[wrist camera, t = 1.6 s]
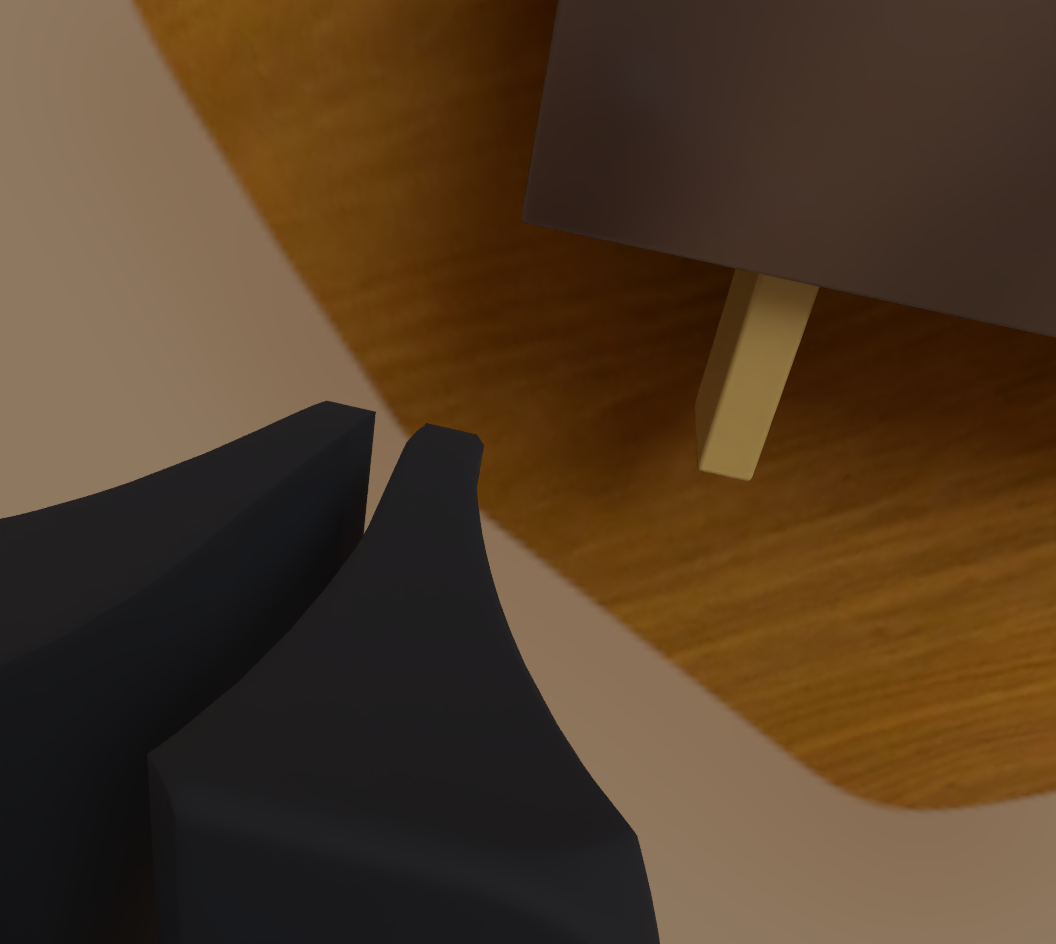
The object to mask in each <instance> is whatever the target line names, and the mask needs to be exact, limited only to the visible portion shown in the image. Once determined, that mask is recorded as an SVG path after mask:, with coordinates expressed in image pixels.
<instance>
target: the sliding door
mask: <svg viewBox="0 0 1056 944" xmlns="http://www.w3.org/2000/svg"><path fill="white" fill-rule="evenodd" d="M818 290H819V287H818V286H813V285H809V284H804V283H800V282H795V281H790V280H786V279H781V278H776V277H772V276H767V275H763V274H758V273H753V272H749V271H744V270H739V269H735V272H734V275H733V279H732V282H731V285H730V289H729V292H728V295H727V299H726V302H725V305H724V309H723V312H722V315H721V319H720V322H719V325H718V328H717V332H716V335H715V338H714V342H713V345H712V348H711V352H710V355H709V358H708V362H707V365H706V368H705V372H704V375H703V378H702V382H701V385H700V388H699V392H698V395H697V398H696V402H695V421H696V443H697V465H698V469H699V470H701V471H704V472H708V473H712V474H717V475H721V476H726V477H730V478H735V479H739V480H744V481H750V479H751V478H752V477H753V474H754V471H755V468H756V465H757V463H758V460H759V457H760V454H761V451H762V448H763V446H764V443H765V440H766V437H767V434H768V431H769V429H770V426H771V423H772V420H773V417H774V414H775V412H776V409H777V406H778V403H779V400H780V398H781V395H782V392H783V389H784V386H785V383H786V381H787V378H788V375H789V372H790V369H791V366H792V364H793V361H794V358H795V355H796V352H797V350H798V347H799V344H800V341H801V338H802V335H803V333H804V330H805V327H806V324H807V321H808V318H809V316H810V313H811V310H812V307H813V304H814V301H815V299H816V296H817V293H818Z"/></svg>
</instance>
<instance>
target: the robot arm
mask: <svg viewBox="0 0 1056 944" xmlns="http://www.w3.org/2000/svg"><path fill="white" fill-rule="evenodd" d="M375 414H376V412H374V411H370V410H365V409H361V408H357V407H352V406H348V405H343V404H339V403H335V402H330V401H325V402H321V403H319V404H316V405H313V406H311V407H308V408H306V409H304V410H301V411H299V412H297V413H295V414H292V415H290V416H288V417H286V418H284V419H281V420H279V421H277V422H275V423H273V424H270V425H268V426H266V427H264V428H261V429H259V430H257V431H255V432H252V433H251V434H248V435H246V436H243V437H241V438H239V439H237V440H234V441H232V442H230V443H228V444H225V445H223V446H221V447H219V448H216V449H214V450H212V451H209V452H207V453H205V454H202V455H200V456H197V457H194V458H192V459H189V460H187V461H184V462H181V463H179V464H176V465H174V466H171V467H169V468H166V469H163V470H161V471H158V472H156V473H153V474H150V475H148V476H145V477H143V478H140V479H137V480H135V481H132V482H130V483H126V484H123V485H120V486H118V487H115V488H111V489H108V490H105V491H102V492H99V493H96V494H93V495H89V496H86V497H83V498H79V499H76V500H72V501H68V502H65V503H61V504H58V505H54V506H51V507H47V508H44V509H40V510H37V511H32V512H29V513H25V514H21V515H16V516H12V517H7V518H2V519H0V944H660V942H659V934H658V928H657V923H656V917H655V912H654V908H653V901H652V896H651V891H650V887H649V882H648V878H647V874H646V870H645V865H644V861H643V857H642V853H641V849H640V845H639V841H638V837H637V835H636V833H635V832H634V831H633V830H632V828H631V827H630V825H629V824H628V823H627V822H626V820H625V819H624V818H623V816H622V815H621V814H620V813H619V811H618V810H617V809H616V808H615V806H614V805H613V804H612V802H611V801H610V800H609V799H608V797H607V796H606V795H605V794H604V792H603V791H602V790H601V789H600V787H599V786H598V785H597V783H596V782H595V781H594V779H593V778H592V777H591V775H590V774H589V772H588V771H587V770H586V768H585V767H584V765H583V764H582V762H581V761H580V759H579V758H578V756H577V754H576V753H575V751H574V750H573V748H572V747H571V745H570V744H569V742H568V741H567V739H566V737H565V736H564V734H563V733H562V731H561V730H560V728H559V726H558V725H557V723H556V721H555V719H554V717H553V716H552V714H551V712H550V710H549V708H548V706H547V704H546V703H545V701H544V699H543V697H542V696H541V693H540V691H539V690H538V688H537V686H536V684H535V683H534V680H533V678H532V677H531V675H530V673H529V671H528V669H527V667H526V665H525V663H524V661H523V659H522V657H521V654H520V652H519V650H518V647H517V645H516V643H515V640H514V638H513V636H512V634H511V631H510V628H509V626H508V623H507V620H506V618H505V615H504V612H503V609H502V607H501V604H500V601H499V598H498V595H497V592H496V588H495V585H494V581H493V578H492V574H491V571H490V567H489V562H488V558H487V555H486V550H485V545H484V540H483V535H482V529H481V522H480V515H479V507H478V498H477V483H478V477H479V472H480V466H481V460H482V454H483V448H484V445H483V443H482V442H481V440H480V439H479V437H478V436H477V434H472V433H468V432H463V431H459V430H454V429H450V428H445V427H441V426H437V425H432V424H428V423H426V424H425V425H424V426H423V427H422V428H420V429H419V430H418V431H417V432H416V433H415V434H414V435H413V436H412V437H411V438H410V439H409V440H408V442H407V443H406V445H405V447H404V449H403V451H402V453H401V455H400V458H399V460H398V462H397V464H396V466H395V468H394V471H393V473H392V475H391V477H390V480H389V482H388V484H387V486H386V488H385V491H384V493H383V495H382V497H381V500H380V502H379V504H378V506H377V508H376V511H375V513H374V515H373V517H372V520H371V522H370V524H369V526H368V528H367V530H366V531H365V533H364V524H365V514H366V503H367V494H368V484H369V474H370V464H371V454H372V443H373V434H374V424H375ZM363 534H364V535H363Z"/></svg>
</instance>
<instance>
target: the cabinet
mask: <svg viewBox="0 0 1056 944" xmlns="http://www.w3.org/2000/svg"><path fill="white" fill-rule="evenodd" d="M521 220H522V222H524V223H527V224H531V225H536V226H540V227H545V228H550V229H554V230H559V231H564V232H568V233H573V234H577V235H582V236H587V237H591V238H596V239H601V240H605V241H610V242H614V243H619V244H624V245H628V246H633V247H638V248H642V249H647V250H652V251H656V252H661V253H665V254H670V255H675V256H679V257H684V258H689V259H693V260H698V261H702V262H707V263H712V264H716V265H721V266H726V267H730V268H735V269H739V270H744V271H749V272H753V273H758V274H763V275H767V276H772V277H776V278H781V279H786V280H790V281H795V282H800V283H804V284H809V285H813V286H818V287H823V288H827V289H832V290H837V291H841V292H846V293H850V294H855V295H860V296H864V297H869V298H874V299H878V300H883V301H887V302H892V303H897V304H901V305H906V306H911V307H915V308H920V309H924V310H929V311H934V312H938V313H943V314H948V315H952V316H957V317H961V318H966V319H971V320H975V321H980V322H985V323H989V324H994V325H998V326H1003V327H1008V328H1012V329H1017V330H1022V331H1026V332H1031V333H1035V334H1040V335H1045V336H1049V337H1054V338H1056V0H558V3H557V8H556V14H555V20H554V26H553V32H552V38H551V44H550V49H549V55H548V61H547V67H546V73H545V79H544V85H543V90H542V96H541V102H540V108H539V114H538V120H537V125H536V131H535V137H534V143H533V149H532V155H531V161H530V166H529V172H528V178H527V184H526V190H525V196H524V202H523V207H522V213H521Z"/></svg>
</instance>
